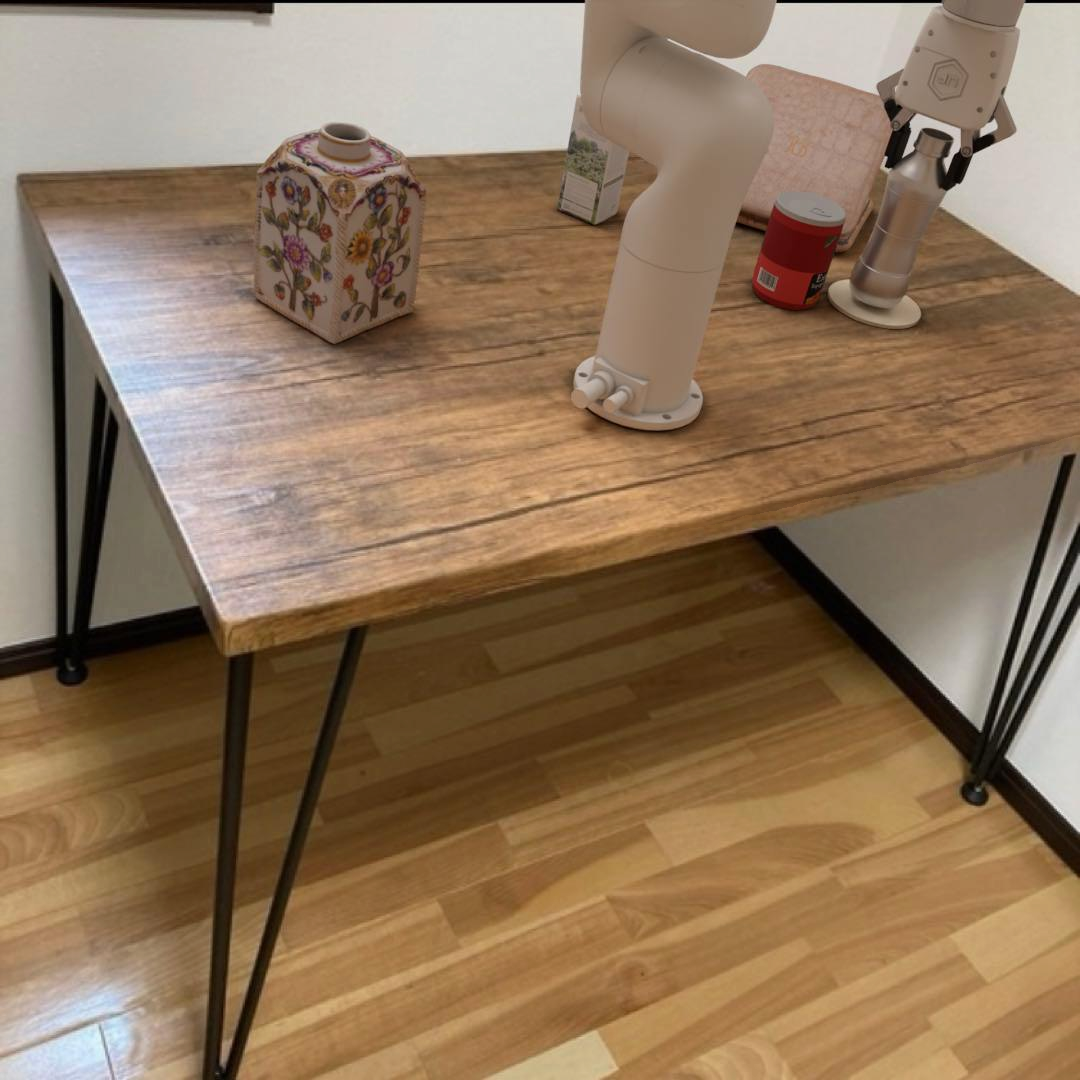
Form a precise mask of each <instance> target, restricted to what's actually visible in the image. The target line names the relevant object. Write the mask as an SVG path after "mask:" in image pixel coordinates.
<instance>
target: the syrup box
mask: <svg viewBox="0 0 1080 1080" xmlns="http://www.w3.org/2000/svg"><path fill="white" fill-rule="evenodd" d="M575 97H576V99H575V103H574V108H573V115H572V121H571V127H570V132H569V138H568V143H567V149H566V156H565V160H564V167H563V173H562V177H561V178H562V179H561V184H560V190H559V195H558V199H557V200H558V201H557V206H556V208H557V210H559V211H561V212H563V213H566V214H568V215H571V216H573V217H574V218H577V219H578V220H579V219H580V220H582V221H584V222H587V223H589V224H591V225H598V224H600V223H603V222H604V221H606V220H607V219H610V218H612V217H613V216H615V215H617V213H618V210H619V205H620V200H621V193H622V188H623V183H624V178H625V174H626V169H627V164H628V159H629V155H630V152H629V151H628V150H626V149H624V148H622V147H620V146H618V145H617V144H615V143H613V142H611V141H609V140H608V139H606V138H604V137H603V136H601V135H600V134H599V133H597V132H596V131H595V130H594V129H593V128H592V127H591V126H590V124H589V123H588V121H587V119H586V117H585V115H584V112H583V109H582V103H581V96H580V92H579V93H578V92H577V93H576V96H575Z"/></svg>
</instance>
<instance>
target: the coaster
mask: <svg viewBox="0 0 1080 1080" xmlns="http://www.w3.org/2000/svg"><path fill="white" fill-rule="evenodd" d="M849 282H850V278H849V279H848V278H847V279H841V280H837V281H834V282H833V283H832V284H830V285H829V287H828V290H827V293H826V294H827V299H828V302H829V303H830V304H831V305H832V306H833V307H834V308H835V309H836V310H838V312H840V313H841V314H843V315H844V316H847V317H848V318H851V319H853V320H855V321H857V322H860V323H861V324H865V325H868V326H871V327H875V328H882V329H887V330H888V329H889V330H904V329H908V328H911V327H914V326H915V325H917V324H918V323H919V321H920V320H921V317H922V311H921V309H920V307H919V305H918V304H917V303H916V302H915V301H914V300H913V299H912V298H911V297H909V296H908V295H906V294H905V296H904V297H903V299H902V300H901V302H900V303H898V304H897V305H896V306H894V307H892V308H878V307H874V306H871V305H868V304H866V303H864V302H862V301H860V300H858V299H857V298H856V297H854V296H853V294H852V293H851V290H850V286H849Z"/></svg>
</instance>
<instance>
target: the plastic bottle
mask: <svg viewBox="0 0 1080 1080" xmlns="http://www.w3.org/2000/svg"><path fill="white" fill-rule="evenodd" d="M954 143H955V138H954V136H952V135H951V134H949V133H948V132H945V131H943V130H941V129H937V128H933V127H922V128H920V130H919V132H918V135H917V137H916V139H915V140H914V142H913V145H912V146H913V148H914V149H913V150H912V151H911V152H909V153H907V154H905V156H903V157H902V159H900V160H899V161H898V162H897V163H895V165H894V166H893V167H892V168H890V170H889V171H888V175H887V178H886V183H885V187H884V191H883V197H882V201H881V205H880V208H879V211H878V214H877V220H875V223H874V226H873V229H872V232H871V234H870V235H869V238H868V240H867V243H866V245H865V246H864V248H863V251H862V253H861V254H860V256H859V257H858V259H857V261H856V262H855V264H854V266H853V268H852V269H851V271H850V277H849V279H850V282H849V286H850V290H851V293H852V294H853V296H854V297H856V298H857V299H858V300H860V301H862V302H864V303H866V304H868V305H871V306H874V307H878V308H892V307H894V306H896V305H897V304H898V303H900V302H901V300H902V299H903V297H904V296H905V295H906V294H907V292H908V291H909V286H910V283H911V279H912V270H913V268H914V264H915V261H916V257H917V254H918V251H919V248H920V245H921V243H922V240H923V239H924V235H925V234H926V232H927V230H928V227H929V225H930V223H931V221H932V220H933V218H934V216H935V214H936V213H937V211H938V209H939V207H940V206H941V204H942V202H943V200H944V199H945V197H946V195H947V193H948V191H945V190H943V188H942V185H943V182H944V179H945V177H946V174H947V171H948V169H947V167H946V163H945V160H946V158H948V157H950V155H951V149H952V147H953V144H954Z"/></svg>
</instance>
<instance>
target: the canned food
mask: <svg viewBox="0 0 1080 1080" xmlns="http://www.w3.org/2000/svg"><path fill="white" fill-rule="evenodd" d="M845 217H846V212H845V210H844V209H843V208H842V207H841V206H839V205H838V204H837V203H835V202H833V201H831V200H829V199H827V198H825V197H822V196H819V195H816V194H812V193H808V192H801V191H787V192H782V193H780V194H778V196H777V197H776V200H775V202H774V206H773V209H772V212H771V215H770V219H769V222H768V226H767V229H766V231H765V233H764V236H763V239H762V244H761V246H760V250H759V253H758V256H757V259H756V260H757V261H756V264H755V268H754V271H753V275H752V278H751V288H752V291H753V292H754V294H755V295H756V296H757V297H758V298H759V299H761V300H762V301H764V302H765V303H767V304H770V305H772V306H775V307H778V308H781V309H785V310H791V311H805V310H808V309H811V308H813V307H814V306H815V305H816V304H817V302H818V301H819V299H820V297H821V294H822V291H823V288H824V285H825V282H826V279H827V276H828V273H829V270H830V268H831V265H832V261H833V259H834V256H835V253H836V252H835V250H836V247H837V244H838V241H839V238H840V235H841V232H842V229H843V225H844V222H845Z"/></svg>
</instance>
